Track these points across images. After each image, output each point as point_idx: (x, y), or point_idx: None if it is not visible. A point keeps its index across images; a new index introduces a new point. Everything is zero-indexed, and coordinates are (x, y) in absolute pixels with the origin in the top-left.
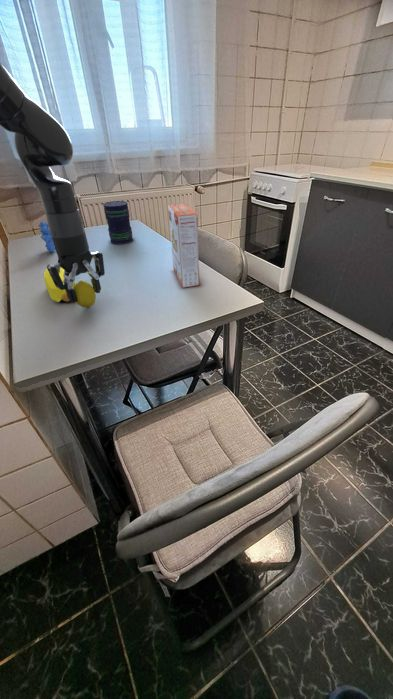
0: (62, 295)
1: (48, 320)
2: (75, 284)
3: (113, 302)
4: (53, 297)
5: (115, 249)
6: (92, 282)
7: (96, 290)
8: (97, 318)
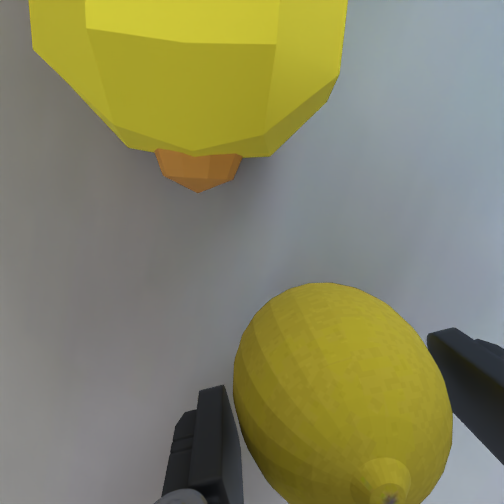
0: (163, 159)
1: (23, 340)
2: (307, 426)
3: None
4: (84, 100)
5: None
6: (493, 401)
7: (448, 393)
8: None
